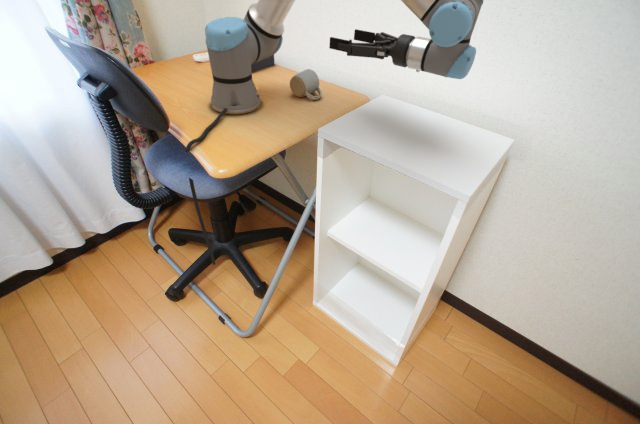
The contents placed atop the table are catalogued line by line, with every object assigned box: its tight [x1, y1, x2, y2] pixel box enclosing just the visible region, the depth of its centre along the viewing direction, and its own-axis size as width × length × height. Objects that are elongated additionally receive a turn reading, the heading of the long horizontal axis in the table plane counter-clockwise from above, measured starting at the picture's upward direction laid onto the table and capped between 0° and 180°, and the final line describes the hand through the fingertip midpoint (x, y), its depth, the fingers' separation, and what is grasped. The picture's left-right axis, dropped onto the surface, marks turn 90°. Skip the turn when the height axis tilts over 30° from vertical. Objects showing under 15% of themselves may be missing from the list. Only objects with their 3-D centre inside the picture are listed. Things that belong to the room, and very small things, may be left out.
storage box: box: [251, 54, 275, 74], centre depth 126 cm, size 13×13×11 cm
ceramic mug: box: [289, 68, 322, 101], centre depth 105 cm, size 11×8×8 cm
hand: (343, 38), depth 90 cm, fingers open, 13 cm apart
